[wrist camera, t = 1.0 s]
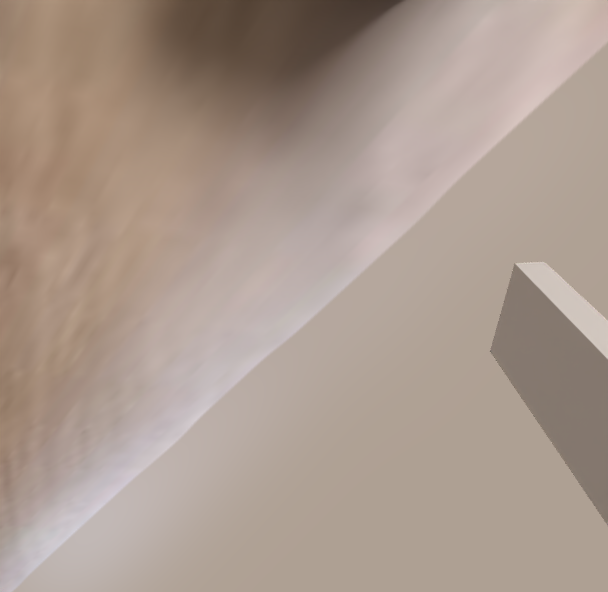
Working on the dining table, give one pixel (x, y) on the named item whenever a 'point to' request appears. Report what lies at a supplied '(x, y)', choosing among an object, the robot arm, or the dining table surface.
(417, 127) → the dining table surface
